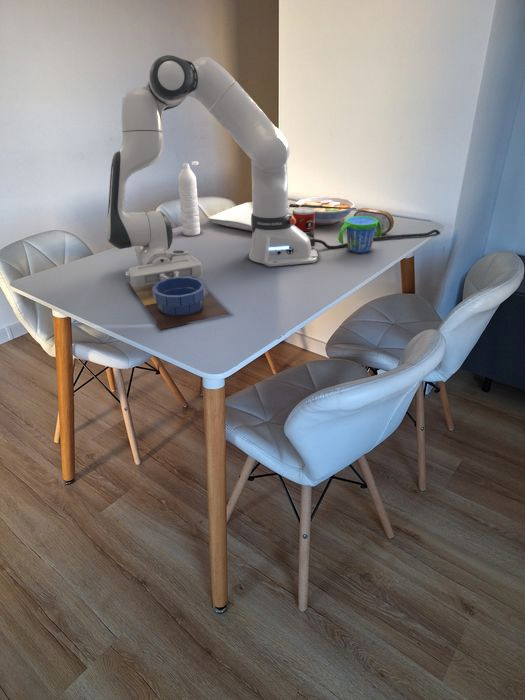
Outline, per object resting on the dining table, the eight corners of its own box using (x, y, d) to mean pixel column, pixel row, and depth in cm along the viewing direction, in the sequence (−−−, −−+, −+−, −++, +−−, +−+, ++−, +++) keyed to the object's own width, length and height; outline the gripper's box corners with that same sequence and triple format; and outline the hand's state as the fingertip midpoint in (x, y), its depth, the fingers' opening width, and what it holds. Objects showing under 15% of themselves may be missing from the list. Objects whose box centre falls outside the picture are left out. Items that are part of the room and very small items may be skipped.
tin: (392, 234, 186) (395, 211, 182) (389, 236, 184) (392, 213, 180) (354, 228, 193) (356, 206, 189) (351, 230, 191) (352, 208, 187)
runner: (129, 283, 150) (129, 282, 150) (187, 272, 156) (187, 271, 156) (144, 306, 136) (144, 305, 135) (208, 294, 142) (208, 292, 142)
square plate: (247, 210, 219) (247, 200, 217) (302, 219, 205) (302, 209, 203) (206, 225, 200) (205, 215, 198) (264, 237, 186) (264, 226, 184)
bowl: (210, 297, 139) (208, 276, 136) (201, 319, 128) (199, 297, 125) (162, 296, 140) (160, 276, 137) (149, 318, 129) (146, 296, 126)
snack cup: (344, 257, 166) (346, 226, 161) (331, 247, 175) (332, 218, 169) (387, 252, 170) (390, 221, 165) (372, 242, 179) (375, 213, 173)
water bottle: (190, 237, 187) (184, 165, 175) (179, 233, 191) (172, 163, 179) (208, 231, 193) (203, 162, 180) (197, 228, 197) (191, 160, 184)
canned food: (299, 245, 177) (300, 213, 172) (288, 239, 183) (288, 208, 178) (318, 242, 180) (319, 210, 175) (306, 236, 186) (307, 205, 181)
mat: (144, 306, 136) (144, 305, 135) (208, 294, 142) (208, 292, 142) (160, 330, 124) (160, 328, 124) (229, 315, 131) (229, 313, 130)
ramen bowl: (358, 216, 208) (359, 195, 204) (353, 233, 189) (355, 210, 184) (297, 213, 213) (297, 193, 209) (287, 229, 194) (287, 207, 190)
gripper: (122, 260, 143) (133, 277, 132) (192, 249, 150) (208, 264, 139) (125, 282, 146) (137, 299, 135) (193, 269, 153) (209, 285, 142)
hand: (173, 281), depth 137 cm, fingers closed, pressing on bowl
